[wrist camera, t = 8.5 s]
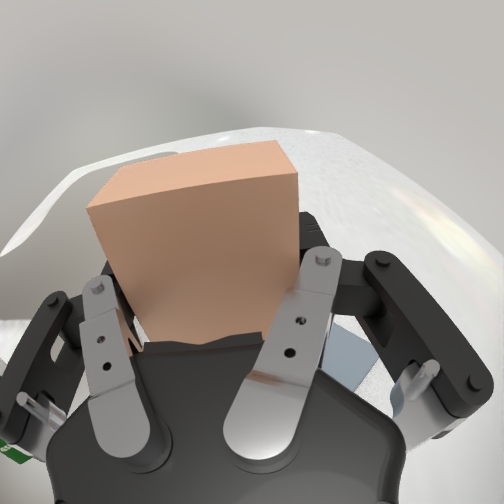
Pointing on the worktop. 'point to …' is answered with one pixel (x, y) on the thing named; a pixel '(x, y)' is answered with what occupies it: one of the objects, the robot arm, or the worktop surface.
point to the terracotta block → (202, 239)
